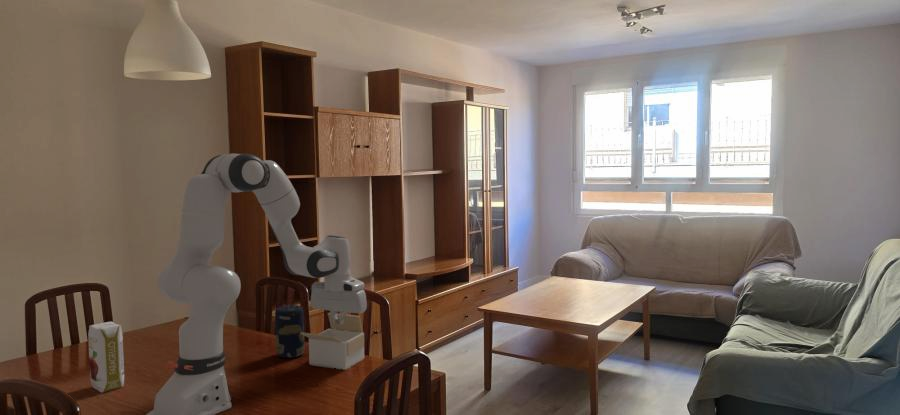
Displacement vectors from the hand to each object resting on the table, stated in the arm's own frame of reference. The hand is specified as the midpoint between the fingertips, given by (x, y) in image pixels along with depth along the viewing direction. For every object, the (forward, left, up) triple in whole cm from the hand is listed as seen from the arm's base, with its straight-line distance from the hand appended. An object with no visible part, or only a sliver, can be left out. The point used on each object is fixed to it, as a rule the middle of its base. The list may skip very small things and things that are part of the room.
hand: (338, 323), depth 196 cm
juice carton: (-45, +52, -13) cm, 70 cm away
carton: (-1, 0, -13) cm, 13 cm away
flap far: (+4, 0, -1) cm, 4 cm away
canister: (-1, +19, -13) cm, 23 cm away
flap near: (-10, 0, -2) cm, 10 cm away
